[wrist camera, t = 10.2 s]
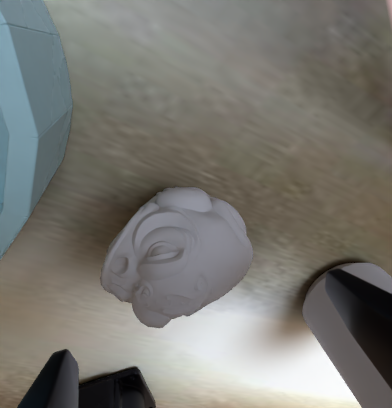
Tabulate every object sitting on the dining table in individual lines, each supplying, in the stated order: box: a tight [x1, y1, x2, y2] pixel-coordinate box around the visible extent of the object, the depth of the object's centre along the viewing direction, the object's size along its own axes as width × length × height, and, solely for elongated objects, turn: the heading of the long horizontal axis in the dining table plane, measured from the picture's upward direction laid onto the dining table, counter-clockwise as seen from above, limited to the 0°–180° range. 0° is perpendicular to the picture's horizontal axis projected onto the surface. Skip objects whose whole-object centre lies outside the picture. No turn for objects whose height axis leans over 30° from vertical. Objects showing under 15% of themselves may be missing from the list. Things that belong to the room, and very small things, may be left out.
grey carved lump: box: [100, 186, 253, 328], centre depth 13 cm, size 6×7×7 cm
